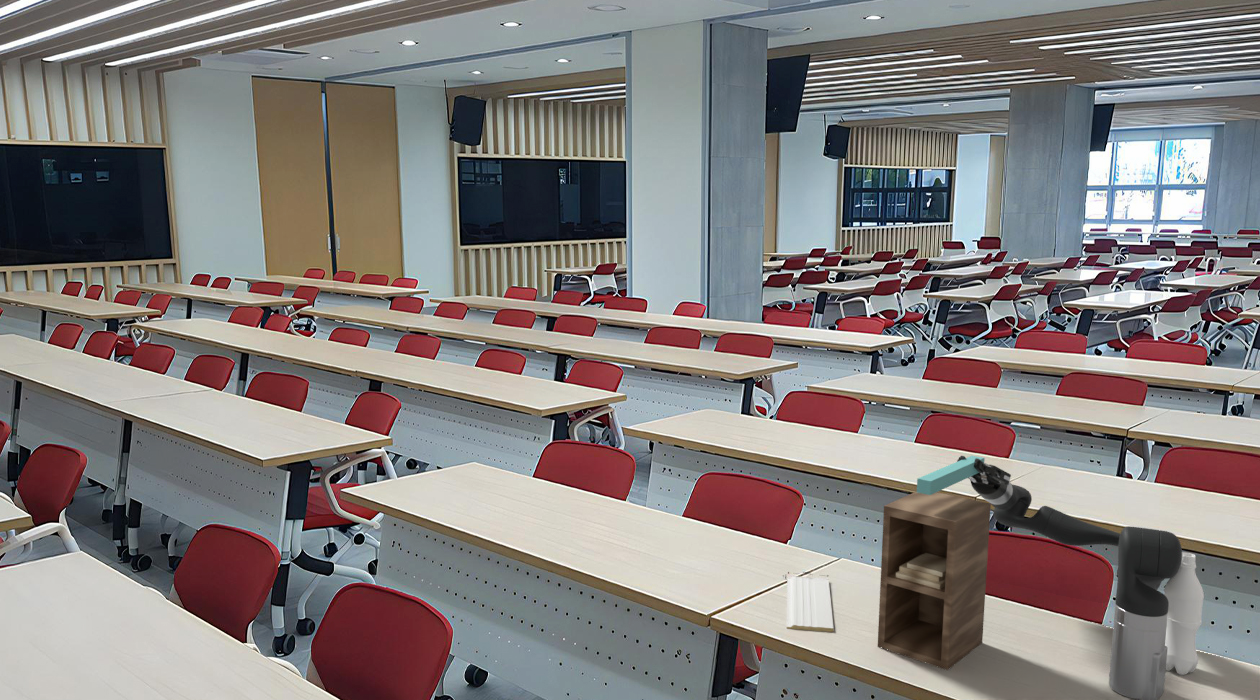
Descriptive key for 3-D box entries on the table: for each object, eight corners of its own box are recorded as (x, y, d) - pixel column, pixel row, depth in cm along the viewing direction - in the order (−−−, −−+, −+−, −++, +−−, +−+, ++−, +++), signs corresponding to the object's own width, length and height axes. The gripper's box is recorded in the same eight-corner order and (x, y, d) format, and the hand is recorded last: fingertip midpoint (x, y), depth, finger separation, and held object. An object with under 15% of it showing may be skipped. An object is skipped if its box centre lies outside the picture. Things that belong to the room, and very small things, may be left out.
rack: (982, 642, 211) (990, 503, 206) (947, 670, 197) (955, 521, 193) (914, 622, 221) (921, 489, 217) (877, 646, 208) (884, 505, 204)
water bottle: (1152, 668, 199) (1162, 554, 196) (1163, 658, 204) (1173, 546, 201) (1191, 680, 194) (1201, 563, 190) (1201, 669, 199) (1212, 555, 195)
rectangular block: (983, 470, 219) (984, 457, 218) (930, 495, 198) (930, 481, 198) (971, 468, 221) (971, 455, 220) (916, 492, 200) (917, 478, 200)
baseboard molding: (780, 630, 218) (833, 634, 216) (780, 618, 217) (833, 622, 215) (781, 580, 248) (828, 584, 246) (782, 570, 248) (828, 573, 246)
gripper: (967, 465, 233) (943, 440, 221) (1025, 475, 224) (1003, 450, 212) (959, 494, 231) (934, 470, 219) (1017, 505, 222) (994, 482, 210)
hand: (968, 461), depth 215 cm, fingers closed on rectangular block, 3 cm apart
